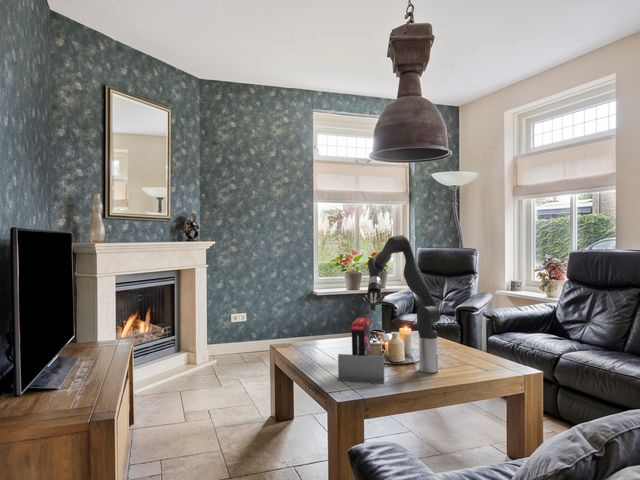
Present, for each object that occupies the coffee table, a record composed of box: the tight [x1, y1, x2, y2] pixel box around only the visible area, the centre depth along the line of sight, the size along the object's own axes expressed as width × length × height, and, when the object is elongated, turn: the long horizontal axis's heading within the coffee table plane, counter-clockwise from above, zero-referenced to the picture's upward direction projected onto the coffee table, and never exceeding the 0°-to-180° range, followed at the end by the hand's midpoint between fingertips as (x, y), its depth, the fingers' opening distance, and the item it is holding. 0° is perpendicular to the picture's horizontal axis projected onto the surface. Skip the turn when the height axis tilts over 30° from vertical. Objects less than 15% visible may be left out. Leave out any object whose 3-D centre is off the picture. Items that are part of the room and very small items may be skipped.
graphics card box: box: [351, 317, 371, 355], centre depth 234 cm, size 17×7×27 cm, turn 165°
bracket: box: [336, 353, 385, 385], centre depth 228 cm, size 22×14×12 cm, turn 78°
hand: (372, 310), depth 261 cm, fingers closed
